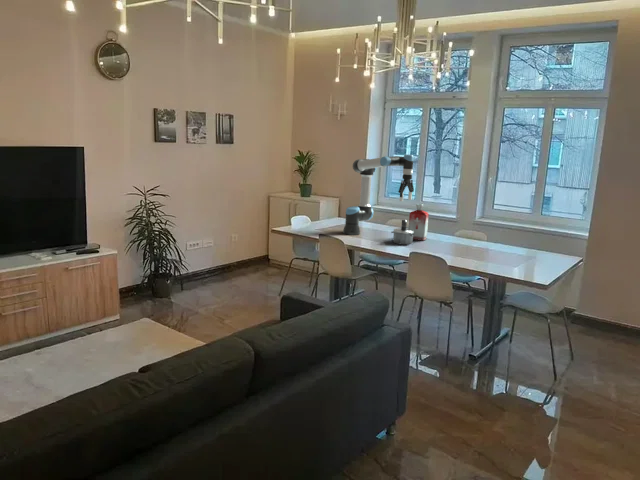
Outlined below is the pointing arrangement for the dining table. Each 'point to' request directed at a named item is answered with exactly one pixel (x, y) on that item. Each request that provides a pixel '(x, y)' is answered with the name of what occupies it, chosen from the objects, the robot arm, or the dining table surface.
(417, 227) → the bottle
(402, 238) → the pot
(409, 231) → the lid
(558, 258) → the dining table surface
